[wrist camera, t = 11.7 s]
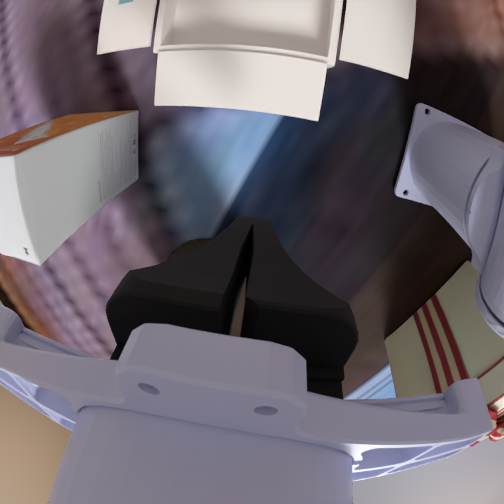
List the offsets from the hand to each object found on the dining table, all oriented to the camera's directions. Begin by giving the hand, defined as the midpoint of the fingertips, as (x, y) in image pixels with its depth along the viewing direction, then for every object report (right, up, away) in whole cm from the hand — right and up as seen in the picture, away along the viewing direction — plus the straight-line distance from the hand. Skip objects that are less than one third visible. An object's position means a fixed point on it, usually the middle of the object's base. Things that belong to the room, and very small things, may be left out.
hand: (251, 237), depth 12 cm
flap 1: (-8, +19, -2) cm, 21 cm away
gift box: (+26, -10, +16) cm, 32 cm away
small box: (-13, +9, +9) cm, 18 cm away
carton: (0, +19, 0) cm, 19 cm away
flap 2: (+8, +16, -3) cm, 19 cm away
